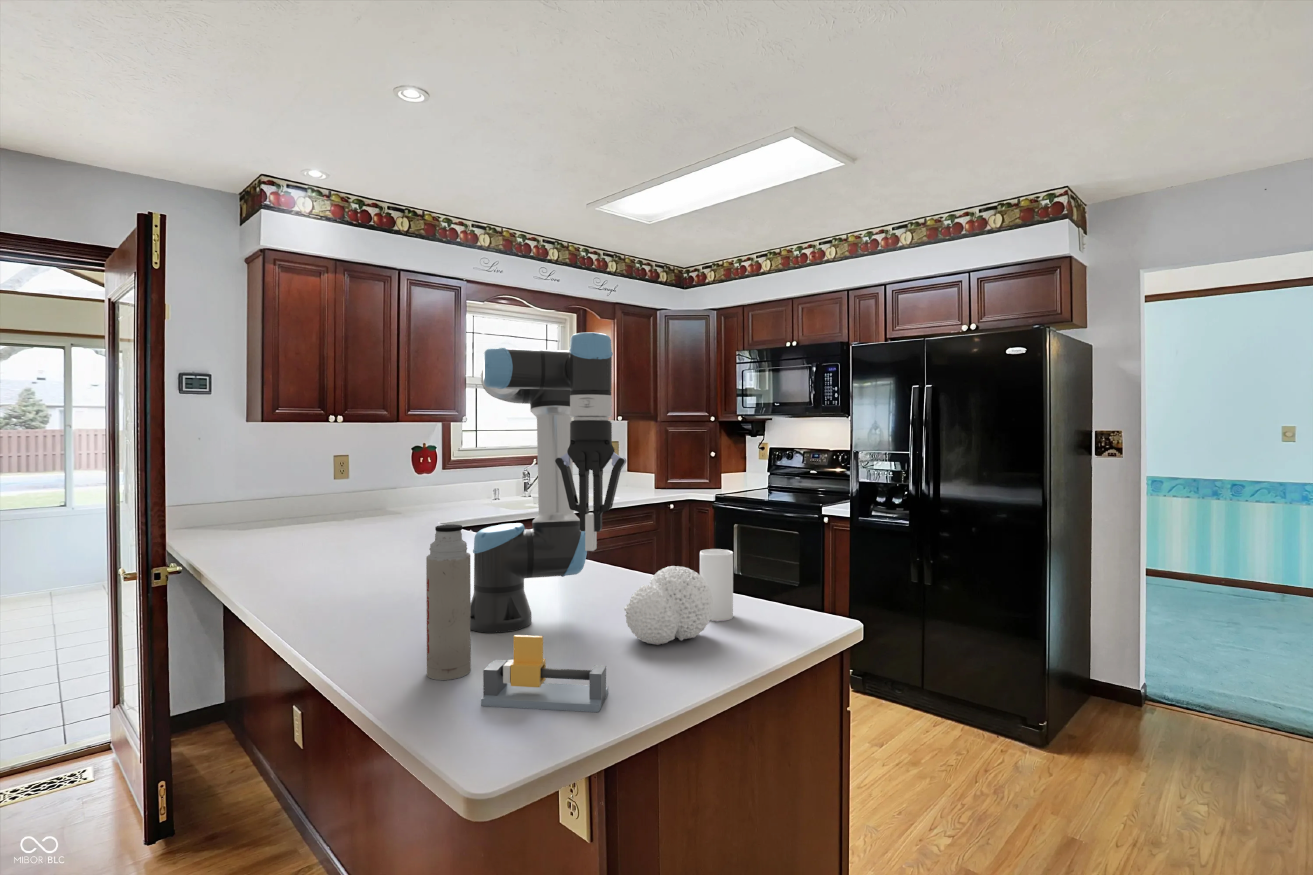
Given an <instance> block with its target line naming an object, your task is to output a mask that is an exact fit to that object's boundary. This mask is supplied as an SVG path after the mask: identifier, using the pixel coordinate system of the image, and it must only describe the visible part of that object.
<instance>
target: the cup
mask: <svg viewBox="0 0 1313 875" xmlns="http://www.w3.org/2000/svg"><path fill="white" fill-rule="evenodd" d="M699 575H700V576H701V577H702V578H703V579H704V580H705V581H706V583H707V585H708V586H709V589H710V590H711V594H712V597H713V611H712V617H711V619H710V621H711V622H712V621H713V622H723V621H724V622H725V621H729V620H732V619H733V618H734V552H733V551H732V550H729V549H721V548H710V549H702V550H700V551H699ZM710 621H709V622H710Z"/></svg>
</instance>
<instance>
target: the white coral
mask: <svg viewBox="0 0 1313 875" xmlns="http://www.w3.org/2000/svg"><path fill="white" fill-rule="evenodd" d="M623 608H624V611H625V613H626V614H625V615H624V616H625V619H626V624H627V628H629V629H630V631H631V633H632V634H633V635H634V636H635V637H636V639H639V640H640V641H642V642H643V643H644V642H645V644H648V645H649V644H650V645H651V644H652V645H657V646H659V645H661V644H662V645H665V644H667V643H668V642H670V641H673V640H674V639H675V638H676V639H677V638H678V640H679V641H683V640H687V639H691V638H693V639H694V638H696V637H697V636H699V635H700V634H701V632H703V631H704V630H705V629H706V627H707V626H708V625H709V622H710V619H711V617H712V611H713V597H712V594H711V590H710V589H709V586H708V585H707V583H706V581H705V580H704V579H703V578H702V577H701V576H700V573H698V572H696V571H695V570H693V569H690V567H685V566H679V565H677V566H675V565H671V566H667V567H666V566H665V567H664V568H661V569H660V570H658V571H657V572H655V574H653V576H652V578H650V581H649V585H646V584H643V585H642V586H640V587H639V588H638V589H637V590H635V592H634V593H633V594H632V595H631V597H630V600H629V603H627V604H626V606H625V607H623Z"/></svg>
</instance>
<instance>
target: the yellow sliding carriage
mask: <svg viewBox="0 0 1313 875" xmlns="http://www.w3.org/2000/svg"><path fill="white" fill-rule="evenodd" d="M513 660H514V662H513V663H512V664H511V686H521V687H540V686H541V685H542V684H543V683H545V681H546V679H547V678H541V669H540V668H547V667H546V666H547V663H546V658H544V636H543V635H527V634H526V635H525V634H514V635H513Z"/></svg>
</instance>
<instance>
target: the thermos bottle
mask: <svg viewBox="0 0 1313 875" xmlns="http://www.w3.org/2000/svg"><path fill="white" fill-rule="evenodd" d="M462 530H463V525H461V524H441V525H437V526H435V534H434V541H432V542H431V543H430V547H429V551H430V554H428V555H426V556H425V557H426V558H425V560H426V562H425V564H426V567H425V568H426V569H425V570H426V573H425V574H426V585H425V586H426V677H427V678H429V679H432V680H436V681H447V680H455V679H456V680H457V679H460V678H462V677H465V676H467V675H468V674H470V673H471V669H472V668H471V666H472V663H471V661H472V659H471V658H472V657H471V655H472V653H471V652H472V650H471V649H472V647H471V645H472V644H471V643H472V642H471V641H472V639H471V630H470V617H471V600H472V598H471V597H472V596H471V586H472V584H471V553H469V552H467V551H468V547H467V546H468V545H467V544H468V543H467V542H466V541H465V540H463V533H462Z"/></svg>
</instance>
